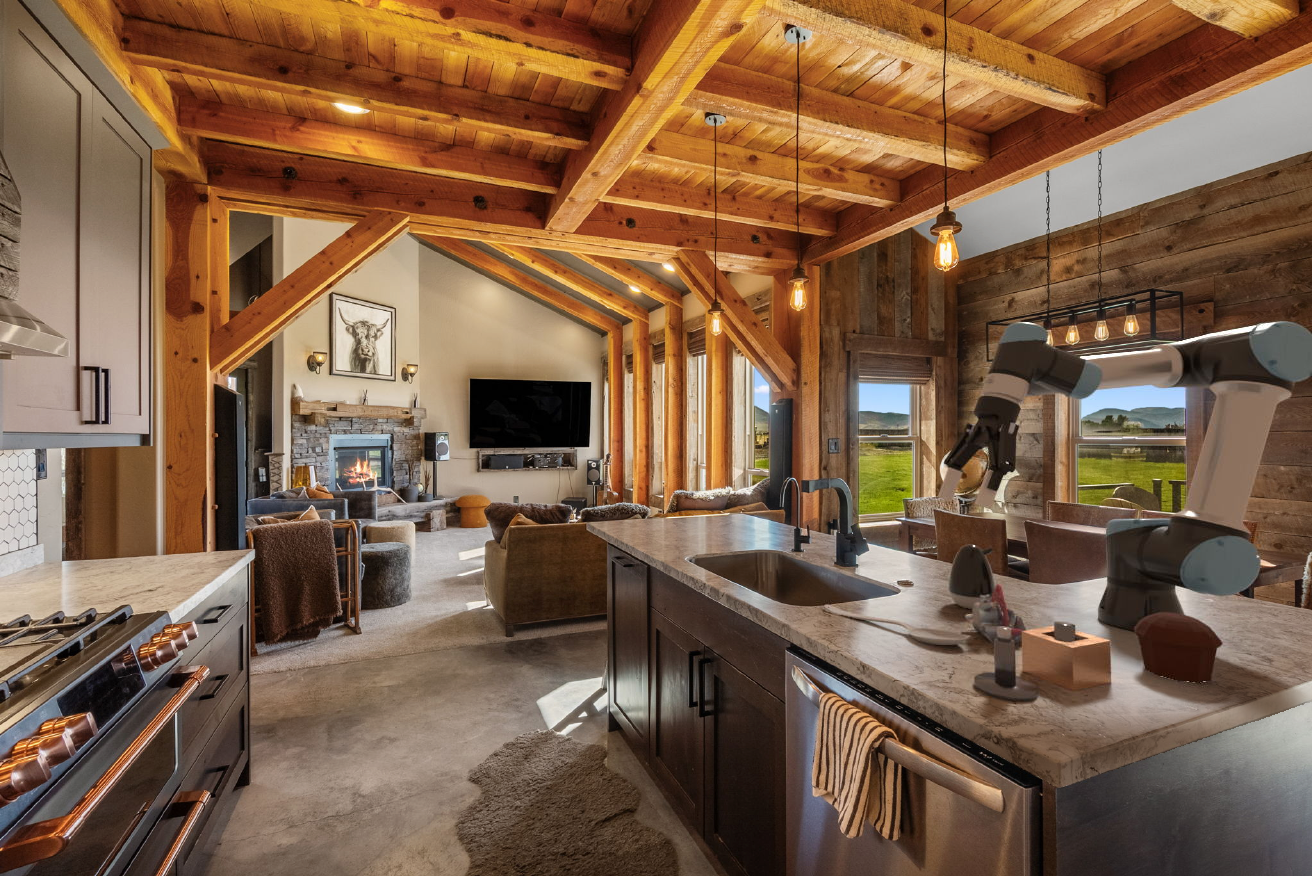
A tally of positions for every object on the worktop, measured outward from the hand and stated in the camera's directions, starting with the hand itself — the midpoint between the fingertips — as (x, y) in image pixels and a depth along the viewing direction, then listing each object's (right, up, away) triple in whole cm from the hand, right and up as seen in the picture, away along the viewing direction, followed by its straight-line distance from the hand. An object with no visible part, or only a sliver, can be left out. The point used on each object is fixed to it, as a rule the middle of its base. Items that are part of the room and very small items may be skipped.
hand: (962, 502), depth 115 cm
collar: (+11, -28, -13) cm, 33 cm away
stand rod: (+11, -28, -13) cm, 33 cm away
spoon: (-9, -30, +15) cm, 34 cm away
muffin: (+31, -28, -12) cm, 44 cm away
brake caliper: (+11, -29, +7) cm, 32 cm away
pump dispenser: (+18, -29, +30) cm, 45 cm away
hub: (-2, -29, -18) cm, 34 cm away
